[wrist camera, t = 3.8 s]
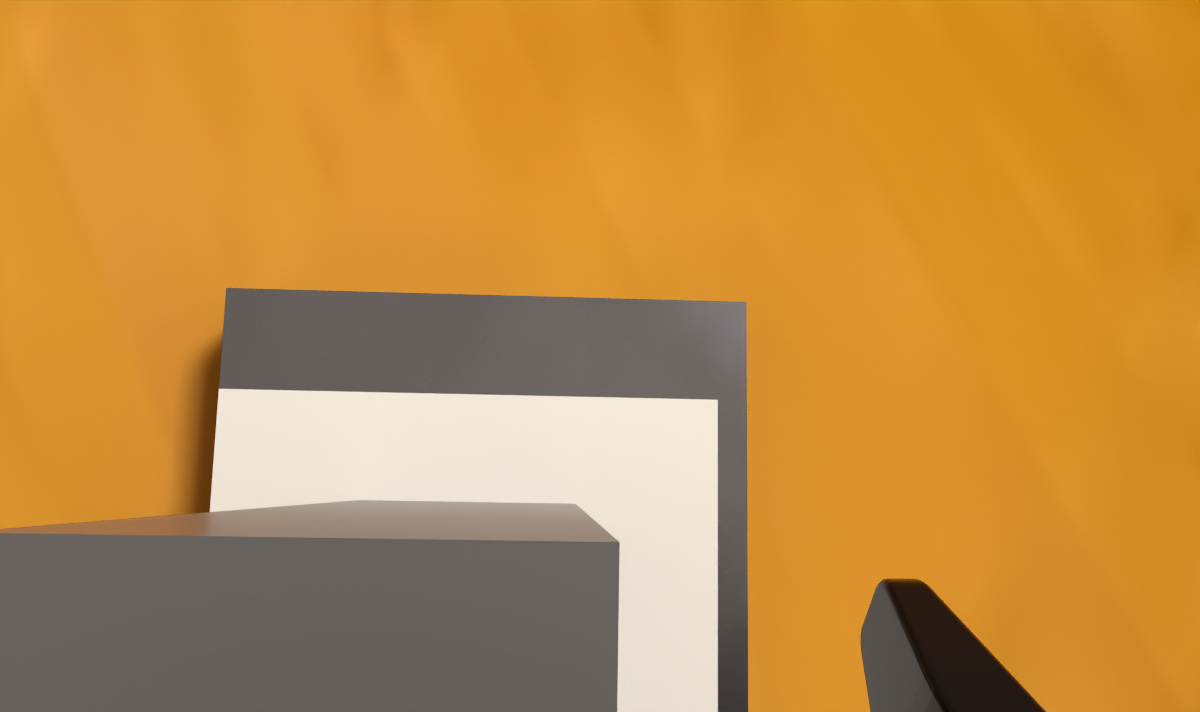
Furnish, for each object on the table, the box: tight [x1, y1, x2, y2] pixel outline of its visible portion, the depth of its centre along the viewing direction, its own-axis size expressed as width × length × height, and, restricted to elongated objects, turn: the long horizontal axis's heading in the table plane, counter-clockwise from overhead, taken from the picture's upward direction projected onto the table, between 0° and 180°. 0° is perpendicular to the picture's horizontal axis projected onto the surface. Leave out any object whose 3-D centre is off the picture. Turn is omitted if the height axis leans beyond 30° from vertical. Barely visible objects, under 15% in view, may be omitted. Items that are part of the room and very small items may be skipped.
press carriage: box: [0, 389, 718, 712], centre depth 10 cm, size 6×9×11 cm
